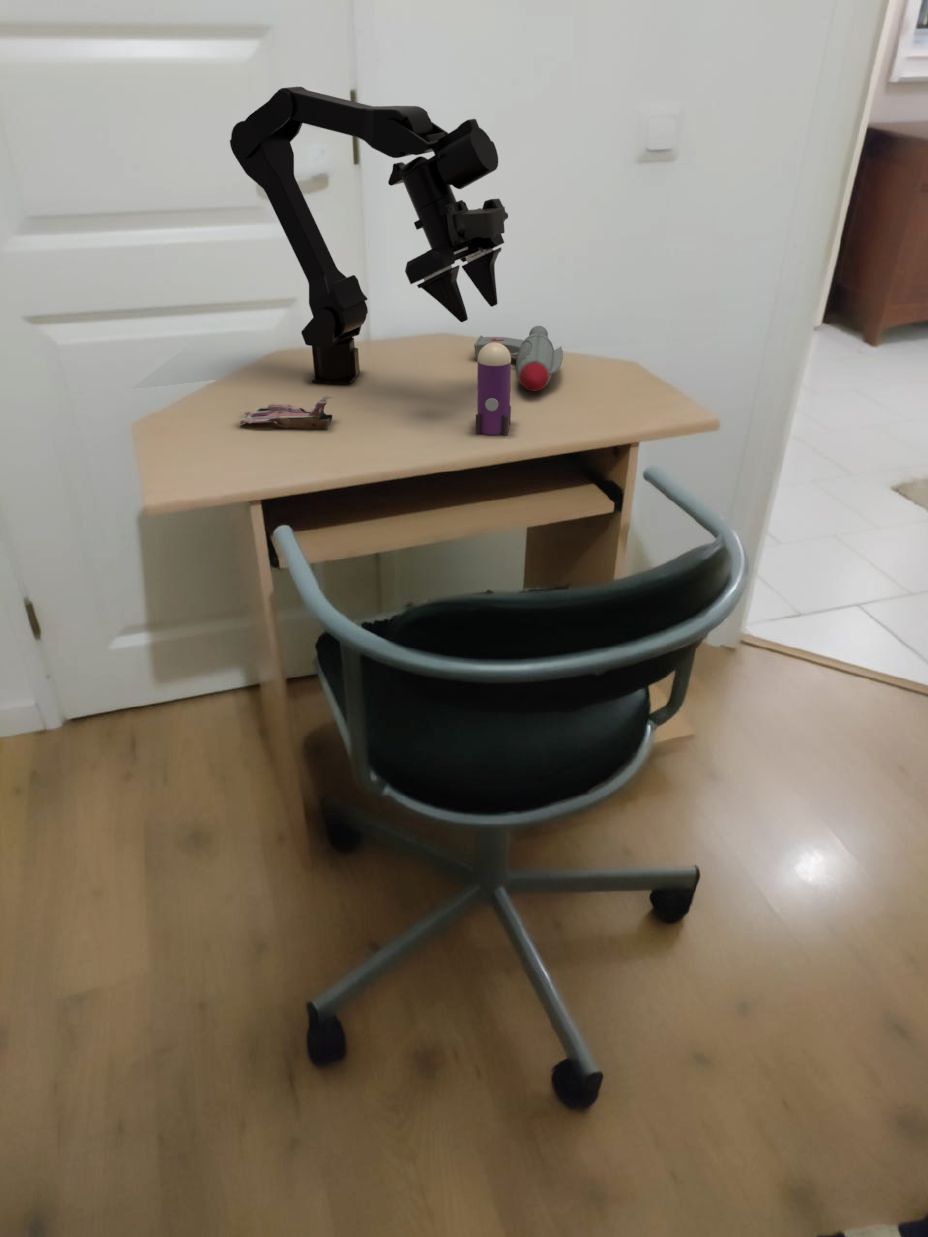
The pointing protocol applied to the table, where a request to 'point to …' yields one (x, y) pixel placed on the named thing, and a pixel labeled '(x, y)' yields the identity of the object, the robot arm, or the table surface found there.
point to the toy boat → (291, 415)
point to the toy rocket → (493, 390)
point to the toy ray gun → (529, 356)
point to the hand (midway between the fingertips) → (479, 313)
